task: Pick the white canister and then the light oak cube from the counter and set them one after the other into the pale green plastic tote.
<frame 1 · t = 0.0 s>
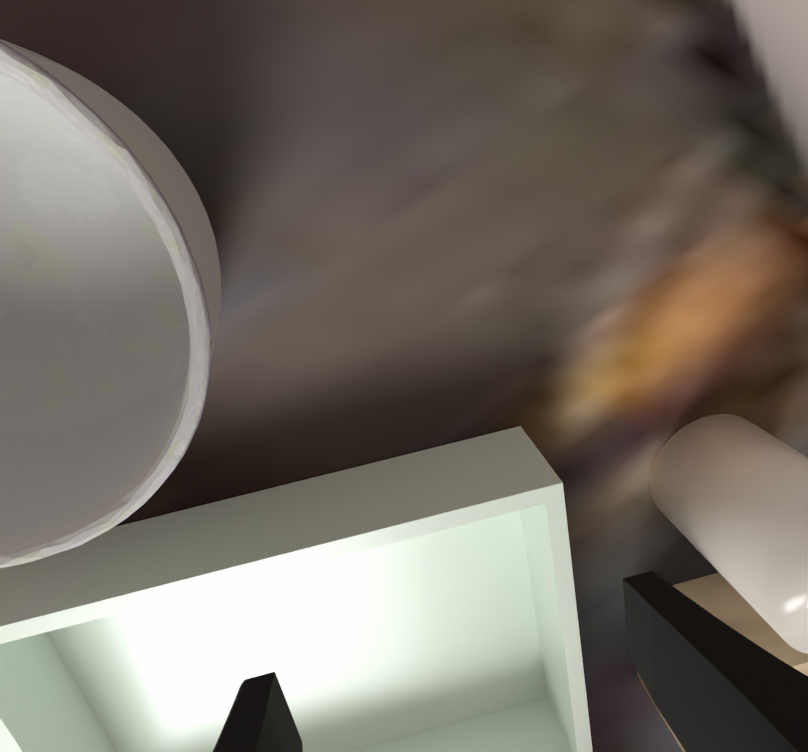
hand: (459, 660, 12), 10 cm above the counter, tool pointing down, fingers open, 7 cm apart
tote: (315, 634, 24), on the counter
oak cube: (686, 622, 27), on the counter
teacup: (19, 280, 18), on the counter
white canister: (707, 470, 24), on the counter
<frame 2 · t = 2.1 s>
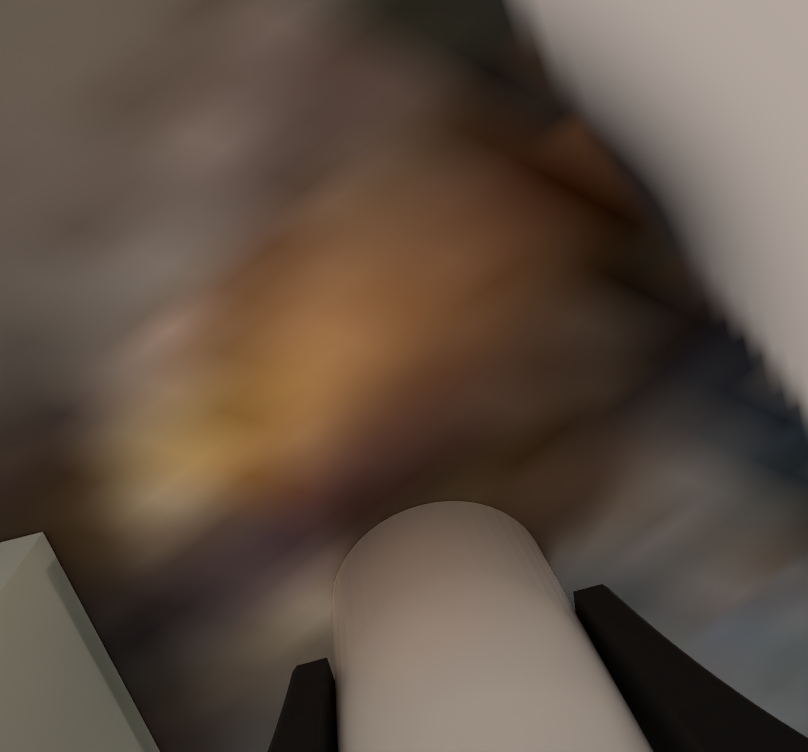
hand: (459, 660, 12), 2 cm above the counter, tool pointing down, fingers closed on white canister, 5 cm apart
white canister: (440, 593, 14), on the counter, touching gripper
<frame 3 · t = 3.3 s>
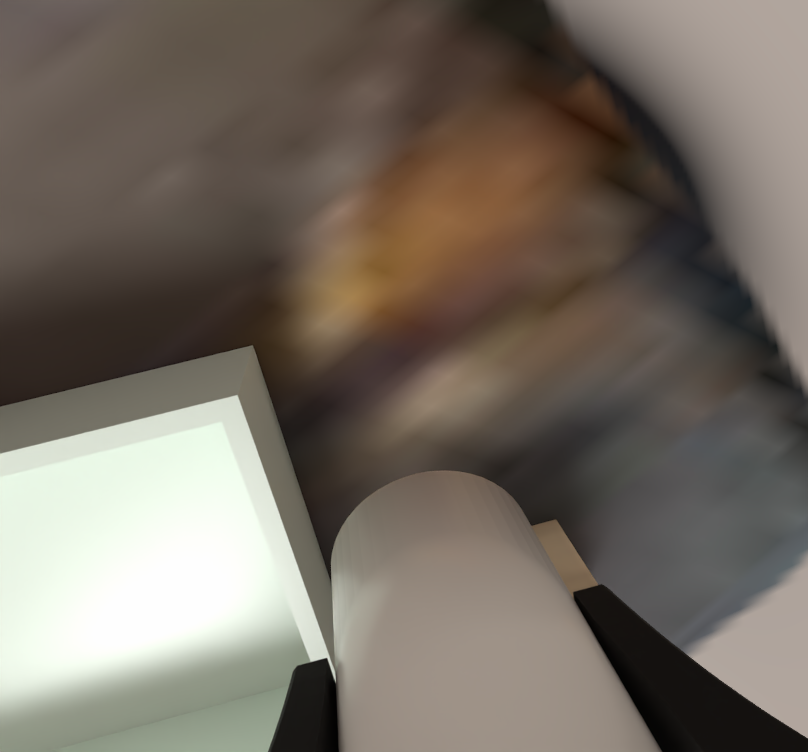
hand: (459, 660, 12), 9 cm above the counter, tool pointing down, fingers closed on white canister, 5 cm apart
tote: (45, 596, 21), on the counter
oak cube: (502, 584, 23), on the counter
white canister: (433, 559, 14), point 6 cm above the counter, touching gripper
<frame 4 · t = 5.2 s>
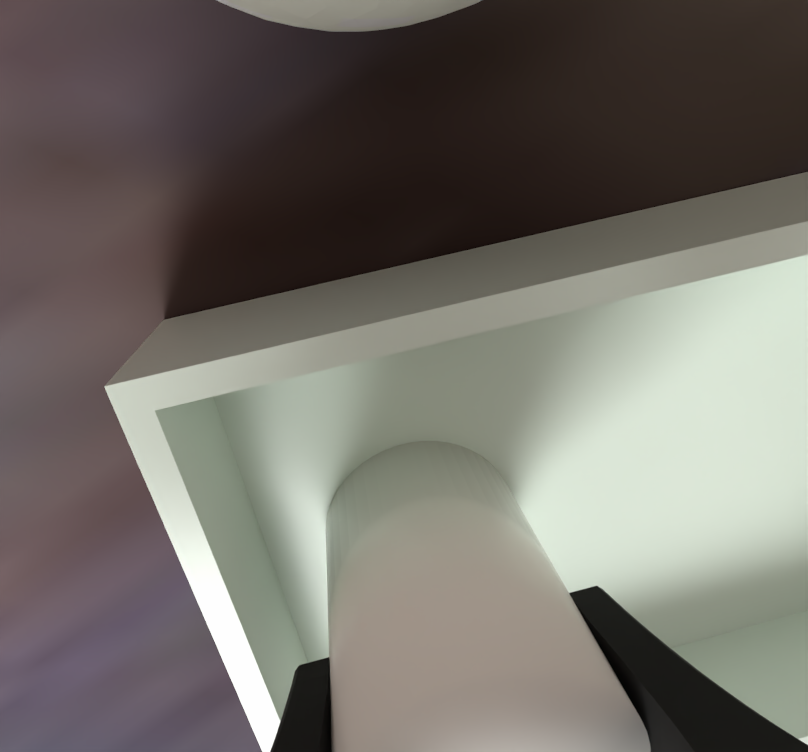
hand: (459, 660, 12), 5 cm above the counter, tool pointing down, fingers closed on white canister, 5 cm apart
tote: (594, 480, 16), on the counter
white canister: (421, 525, 15), resting on tote, touching gripper
when the fingers open (5 cm above the counter, at t = 5.6 s): white canister stays where it is, resting on tote.
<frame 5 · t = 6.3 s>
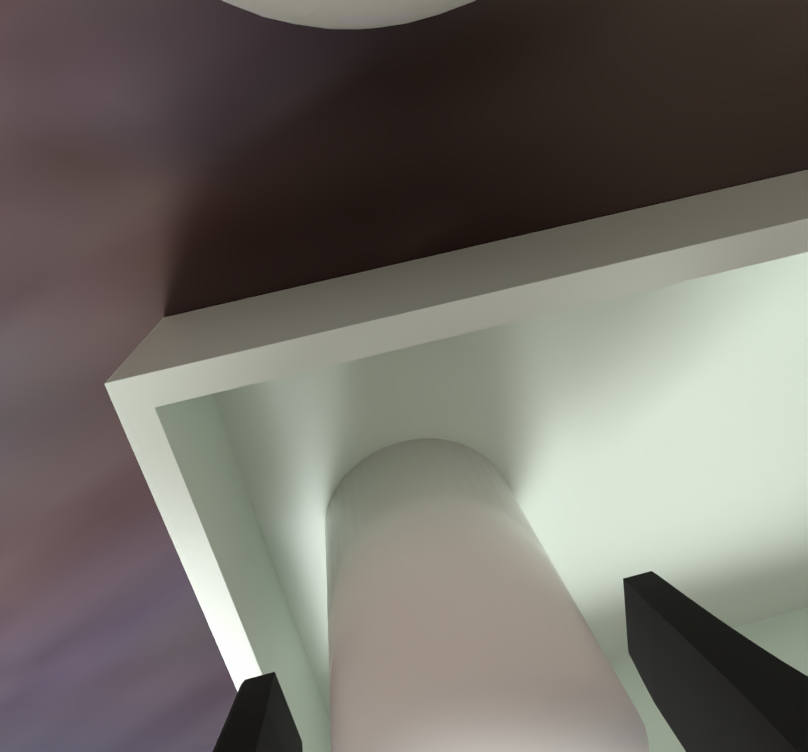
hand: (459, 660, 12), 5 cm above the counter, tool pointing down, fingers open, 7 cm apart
tote: (593, 478, 16), on the counter
white canister: (420, 523, 16), resting on tote
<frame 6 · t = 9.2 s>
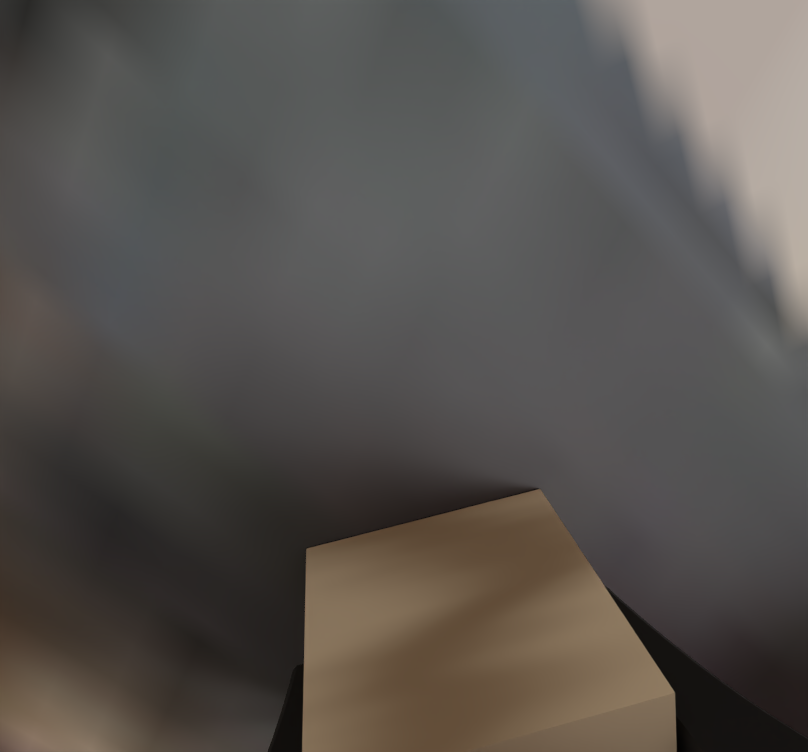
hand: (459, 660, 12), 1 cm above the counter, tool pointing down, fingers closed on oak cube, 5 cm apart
oak cube: (444, 609, 13), on the counter, touching gripper
when the fingers open (4 cm above the counter, at t = 12.4 s): oak cube drops 2 cm, resting on tote.
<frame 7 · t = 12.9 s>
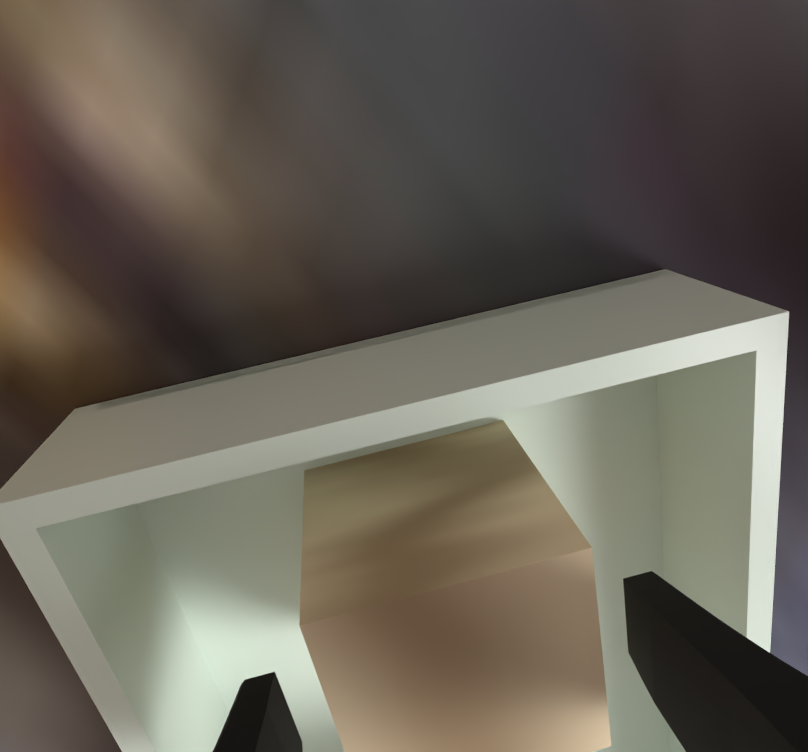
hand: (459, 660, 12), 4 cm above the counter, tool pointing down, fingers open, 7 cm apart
tote: (447, 638, 17), on the counter
oak cube: (423, 527, 15), resting on tote
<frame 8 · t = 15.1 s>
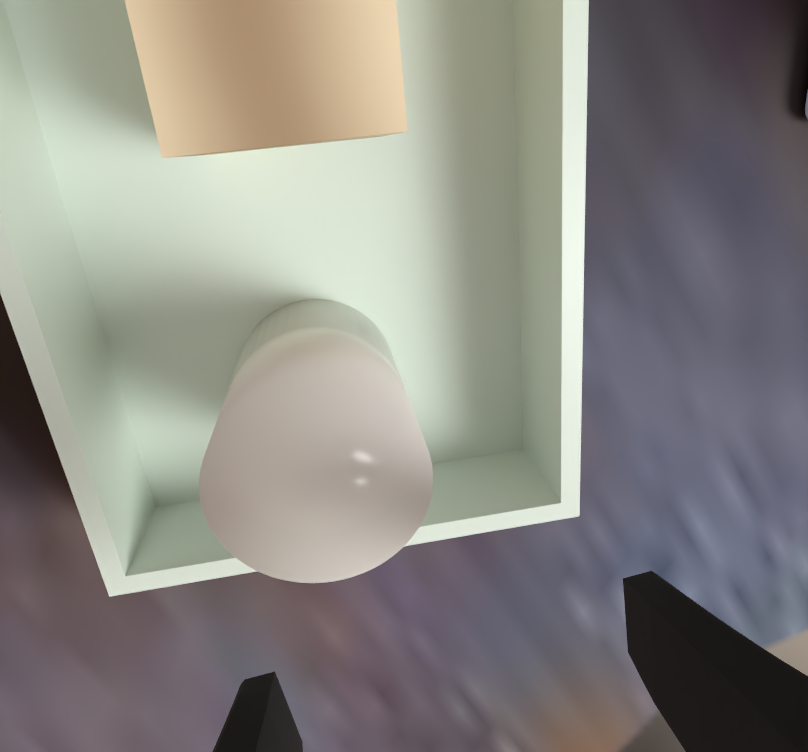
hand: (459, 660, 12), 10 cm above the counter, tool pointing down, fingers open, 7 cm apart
tote: (304, 213, 18), on the counter
oak cube: (279, 45, 16), resting on tote
white canister: (318, 374, 19), resting on tote
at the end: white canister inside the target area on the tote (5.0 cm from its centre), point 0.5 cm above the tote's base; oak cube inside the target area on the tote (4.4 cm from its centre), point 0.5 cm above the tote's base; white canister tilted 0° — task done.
